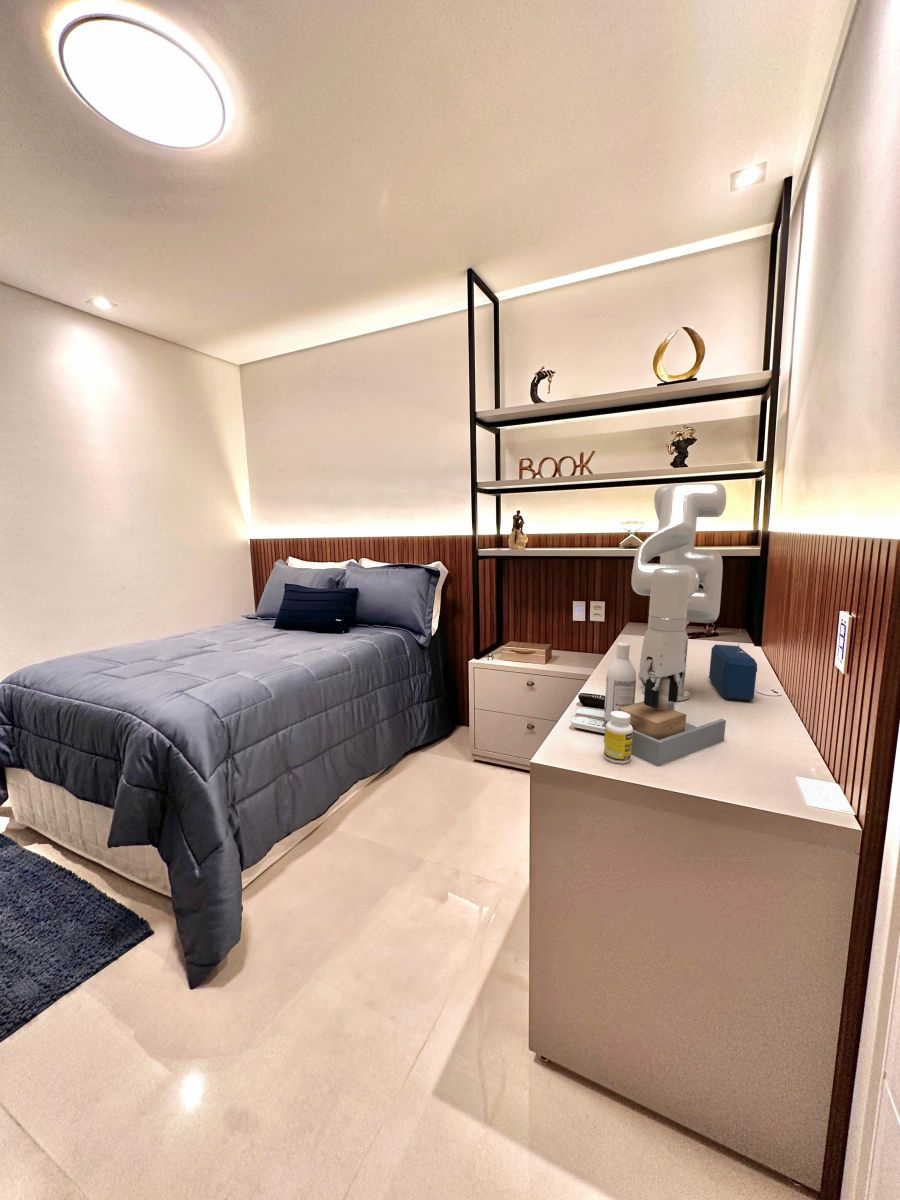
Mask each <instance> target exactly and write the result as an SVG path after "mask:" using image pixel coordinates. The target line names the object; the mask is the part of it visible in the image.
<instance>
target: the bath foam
mask: <svg viewBox="0 0 900 1200" xmlns="http://www.w3.org/2000/svg"><path fill="white" fill-rule="evenodd" d="M630 646H631V645H630V643H628V642H618V643H616V657H615V659H614V660H613V661H612V662H611V663H610V665H609V667H608V668H607V672H606V678H605V680H606V681H605V694H604V695H605V696H604V709H603V711H604V713H603V719H604V718H605V719H606V720H608V719H610V713H611V712H613V711H618V708H620V707H624V706H628V705H631V704H635V703H636V702H635V701H636V700H635V699H636V688H637V687H636V686H637V673H636V669H635V667H634V666H633V663H632V662H631V660H630V648H631V647H630Z"/></svg>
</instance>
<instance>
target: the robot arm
mask: <svg viewBox="0 0 900 1200" xmlns="http://www.w3.org/2000/svg"><path fill="white" fill-rule="evenodd" d="M653 498H654V499H653V501H654V508H655V512H656V517H657V519H658V527H657V530H656V531H654V532H653V533H651V535H649V536H648V537H647V538H645V539H644V541H643V542H642V543H640V545H639V547H638V548H637V550H636V552H635V555H634V559H633V567H632V572H631V583H630V584H631V588H632V590H633V592H635V594H638V595H639V596H649V605H648V606H649V607H648V608H649V609H648V623H647V630H645V634H644V637H643V640H642V641H643V642H642V646H641V653H640V660H639V673H638V680H639V681H640V682H641V683H642V685H643V686H642V693H643V694H644V696H643V697H644V698H643V701H644V704H645V705H647V706H650V707H653V708H657V707H658V700H659V690H657V688H658V685H659V682H660V679H661V678H662V677H667V678H669V679H670V684H669V696H668V702H674V704H675V703H677V702H680V701H681V702H683V701H686V700H689V698H690V692H689V691H688V690H686V689H685V678H686V671H687V670H686V669H687V656H688V646H689V645H688V644H689V637H688V633H687V631H686V627H687V622H691V623H702V624H711V623H714V622H716V621H717V619H718V618H719V616H720V610H721V609H720V608H721V598H722V597H721V596H722V584H723V583H722V582H723V571H724V570H723V568H724V567H723V566H724V565H723V558H722V555H721V553H720V552H719V551H717V550H715V549H704V548H703V549H702V548H701V549H700V548H695V537H696V533H697V518H719V517H721V516H722V515H723V514H724V512H725V509H726V505H727V491H726V488H725V486H724V484H722V483H721V482H720V483H719V482H693V483H691V482H690V483H685V482H684V483H673V484H672V483H671V484H666V485H661V486H660V487H658V488H657V489H656V490H655V492H654V497H653ZM659 555H660V558H659V563H650V562H649V561H651V560H652V559H653V558H655V557H657V556H659ZM648 562H649V563H648ZM700 585H701V586H702V587H703V588H700V587H699V586H700Z"/></svg>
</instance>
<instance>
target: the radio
mask: <svg viewBox="0 0 900 1200" xmlns="http://www.w3.org/2000/svg"><path fill="white" fill-rule="evenodd" d="M739 632H741V628H740V629H739ZM740 640H741V634H739V636H738V642H740ZM710 652H711V653H710V662H709V663H710V664H709V672H708V673H709V675H708V679H709V680H710V681H711V683H712V685H713V686H714V687H715V688H716V689H717V691H718V692H719V694H720V695H721V696H722V698H723V699H724V700H734V701H745V702H751V701H752V700H753V699H754V697H755V689H756V681H757V672H758V663H757V662H756V660H755V658H753V657H752V656H751V655H750V654H748V653H747V652H746V651H745V650H744V649H742V648H741V646H740V644H738V645H730V644H714V645H713V647H711V651H710Z"/></svg>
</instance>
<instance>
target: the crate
mask: <svg viewBox="0 0 900 1200" xmlns="http://www.w3.org/2000/svg"><path fill="white" fill-rule="evenodd" d="M669 684H670V679H669V678H667V677H662V678H661V679H660V682H659V685H658V688H657V690H659V700H658V707H657V708H653V707H650V706H647V705H645V704H644V700H643V701H640V702H635V703H634V704H631V705H628V706H624V707H620V708H618V711H622V712H626V713H628V714H630V723H629V724H630V725H631V726H632V728H633V730H636V731H638V732H640V733H643V734H645V735H648V736H650V737H652V738H655V739H657V740H661V739H664V738H666V737H669V736H672V735H675V734H678V733H681V732H684V731H685V722H686V720H687V718H686V717H687V713H684V712H681V711H679V710H676V709H674V710H673V709H670V708H668V702H669V701H668V696H669ZM686 723H687V722H686Z"/></svg>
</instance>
